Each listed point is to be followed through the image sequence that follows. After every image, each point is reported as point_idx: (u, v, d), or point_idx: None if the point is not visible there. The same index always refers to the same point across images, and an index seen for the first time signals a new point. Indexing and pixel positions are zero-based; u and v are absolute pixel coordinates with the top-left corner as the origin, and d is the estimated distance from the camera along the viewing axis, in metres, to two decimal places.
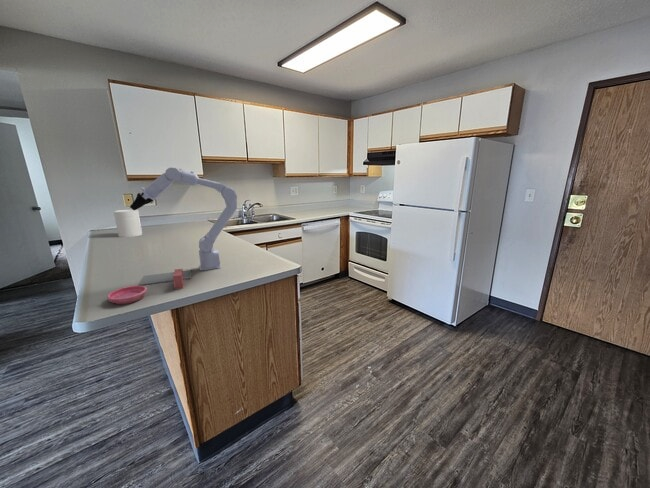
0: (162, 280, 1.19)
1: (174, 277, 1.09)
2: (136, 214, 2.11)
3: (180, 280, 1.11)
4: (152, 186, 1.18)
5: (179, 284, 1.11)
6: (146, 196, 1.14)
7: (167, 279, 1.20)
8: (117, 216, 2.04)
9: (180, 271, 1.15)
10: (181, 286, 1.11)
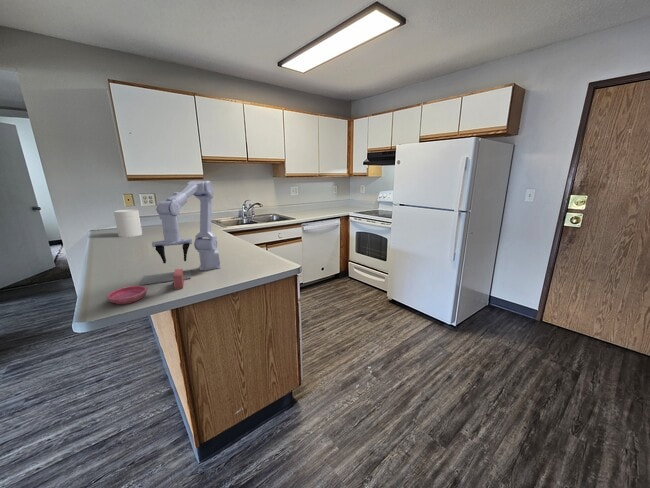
0: (162, 280, 1.19)
1: (174, 277, 1.09)
2: (136, 214, 2.11)
3: (180, 280, 1.11)
4: (177, 232, 1.09)
5: (179, 284, 1.11)
6: (191, 240, 1.14)
7: (167, 279, 1.20)
8: (117, 216, 2.04)
9: (180, 271, 1.15)
10: (181, 286, 1.11)
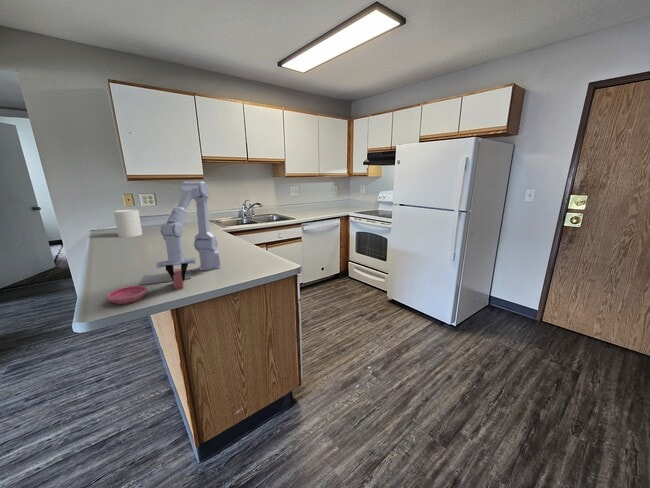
0: (162, 280, 1.19)
1: (174, 277, 1.09)
2: (136, 214, 2.11)
3: (180, 280, 1.11)
4: (181, 253, 1.11)
5: (179, 284, 1.11)
6: None
7: (167, 279, 1.20)
8: (117, 216, 2.04)
9: (180, 271, 1.15)
10: (181, 286, 1.11)
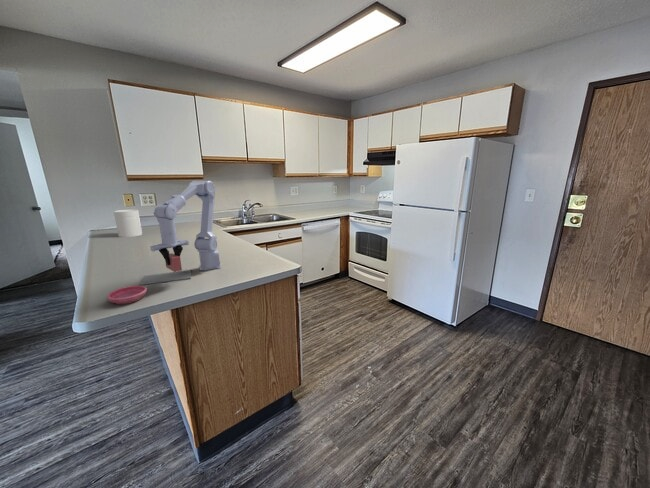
0: (162, 280, 1.19)
1: (173, 259, 1.11)
2: (136, 214, 2.11)
3: (179, 262, 1.13)
4: None
5: (178, 266, 1.13)
6: None
7: (167, 279, 1.20)
8: (117, 216, 2.04)
9: (173, 254, 1.16)
10: (180, 268, 1.14)
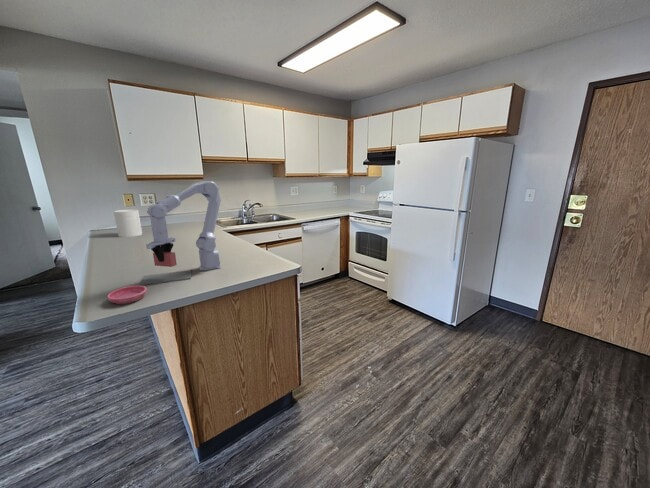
0: (162, 280, 1.19)
1: (171, 255, 1.19)
2: (136, 214, 2.11)
3: (174, 257, 1.21)
4: None
5: (174, 261, 1.21)
6: None
7: (167, 279, 1.20)
8: (117, 216, 2.04)
9: (164, 252, 1.21)
10: (175, 263, 1.22)
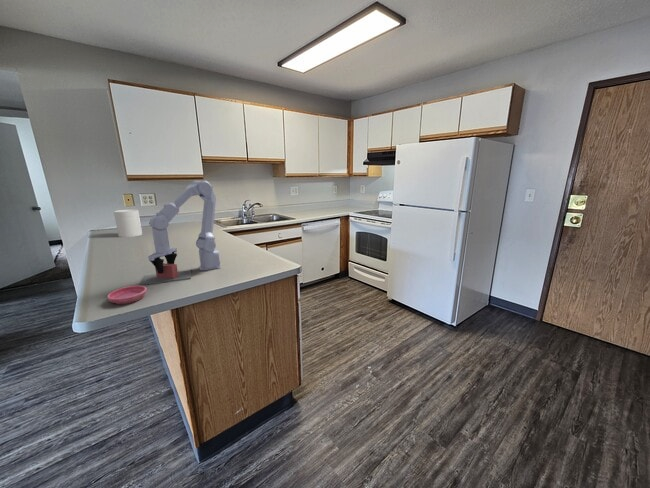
0: (162, 280, 1.19)
1: (172, 267, 1.20)
2: (136, 214, 2.11)
3: (176, 269, 1.22)
4: None
5: (176, 273, 1.22)
6: None
7: (167, 279, 1.20)
8: (117, 216, 2.04)
9: None
10: (177, 274, 1.23)
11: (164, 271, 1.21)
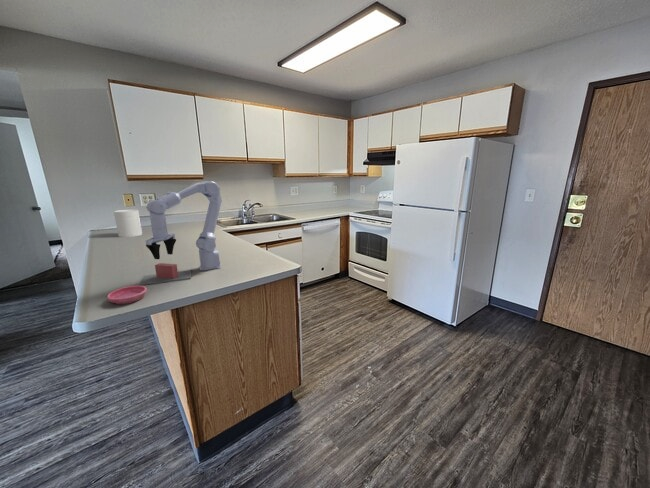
0: (162, 280, 1.19)
1: (172, 267, 1.20)
2: (136, 214, 2.11)
3: (176, 269, 1.22)
4: None
5: (176, 273, 1.22)
6: None
7: (167, 279, 1.20)
8: (117, 216, 2.04)
9: None
10: (177, 274, 1.23)
11: (164, 271, 1.21)
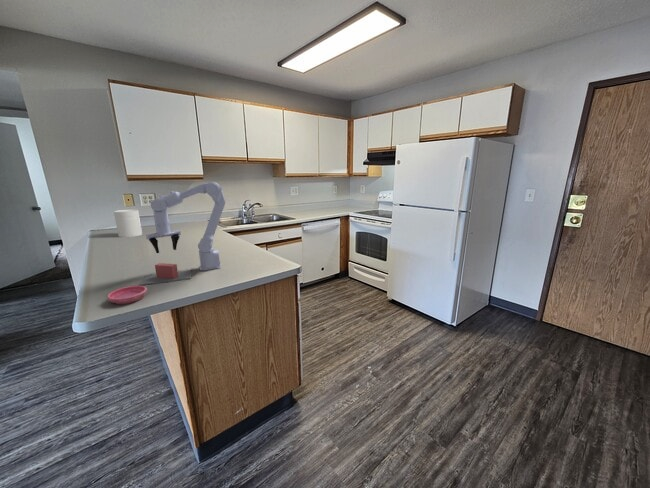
0: (162, 280, 1.19)
1: (172, 267, 1.20)
2: (136, 214, 2.11)
3: (176, 269, 1.22)
4: None
5: (176, 273, 1.22)
6: None
7: (167, 279, 1.20)
8: (117, 216, 2.04)
9: None
10: (177, 274, 1.23)
11: (164, 271, 1.21)
